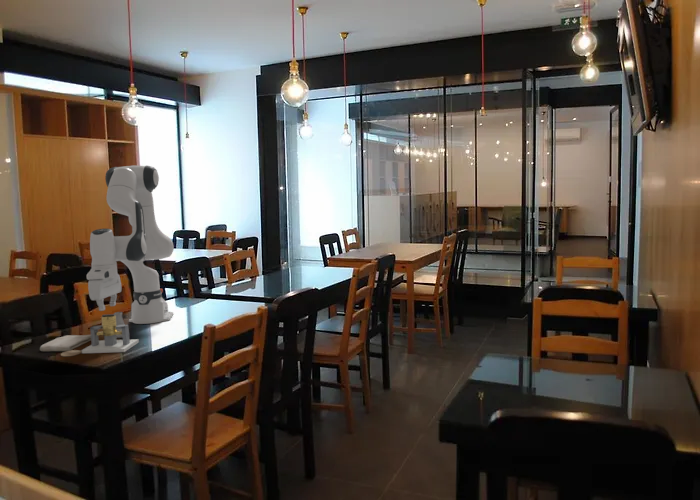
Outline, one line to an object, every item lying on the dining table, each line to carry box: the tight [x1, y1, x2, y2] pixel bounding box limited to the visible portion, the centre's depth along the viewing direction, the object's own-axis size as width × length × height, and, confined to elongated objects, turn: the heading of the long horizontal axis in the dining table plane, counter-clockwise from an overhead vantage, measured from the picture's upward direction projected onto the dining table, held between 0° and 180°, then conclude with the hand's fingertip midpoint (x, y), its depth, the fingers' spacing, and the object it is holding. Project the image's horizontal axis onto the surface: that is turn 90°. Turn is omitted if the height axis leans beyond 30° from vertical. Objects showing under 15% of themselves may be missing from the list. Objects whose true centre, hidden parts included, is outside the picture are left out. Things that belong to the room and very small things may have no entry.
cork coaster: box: [60, 349, 83, 357], centre depth 219 cm, size 7×7×1 cm
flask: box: [113, 311, 130, 339], centre depth 243 cm, size 7×7×10 cm
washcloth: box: [39, 334, 91, 352], centre depth 232 cm, size 12×18×3 cm, turn 175°
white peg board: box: [81, 324, 140, 354], centre depth 225 cm, size 14×16×8 cm
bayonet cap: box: [97, 313, 122, 337], centre depth 224 cm, size 5×9×8 cm, turn 89°
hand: (107, 308), depth 223 cm, fingers open, 8 cm apart
